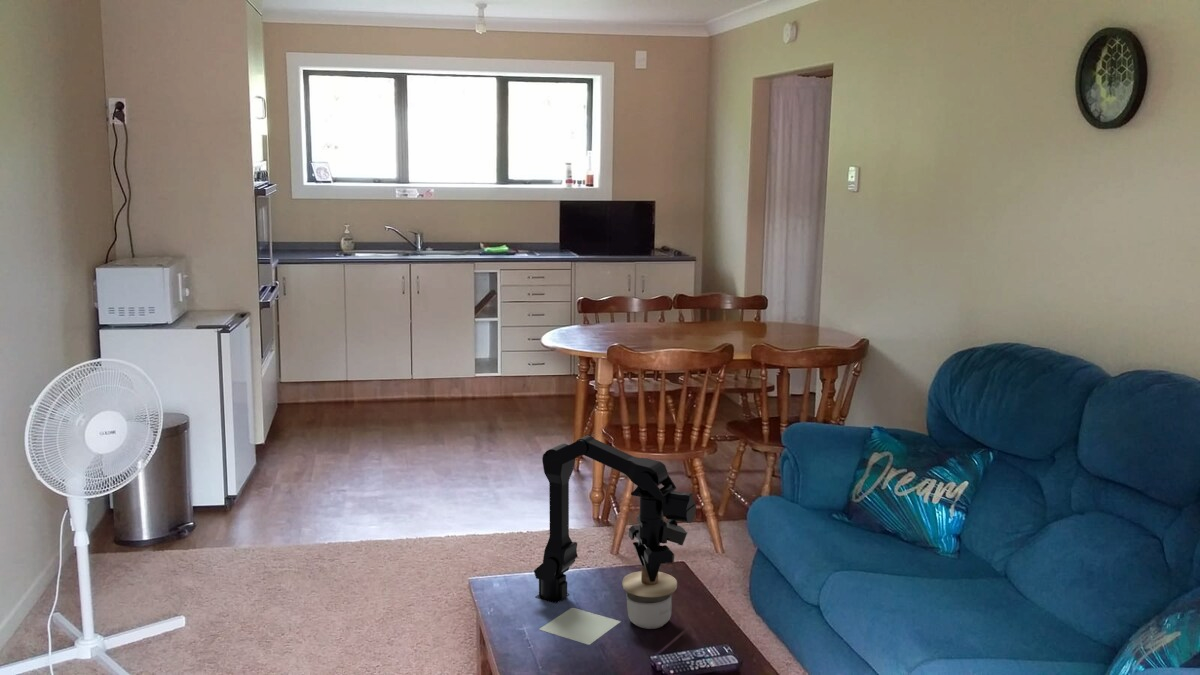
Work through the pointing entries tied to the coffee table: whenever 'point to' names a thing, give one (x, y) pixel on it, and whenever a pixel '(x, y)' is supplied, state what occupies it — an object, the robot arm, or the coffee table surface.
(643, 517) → the robot arm
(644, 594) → the oak lid
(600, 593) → the coffee table surface
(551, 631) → the sage mat
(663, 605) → the teacup
